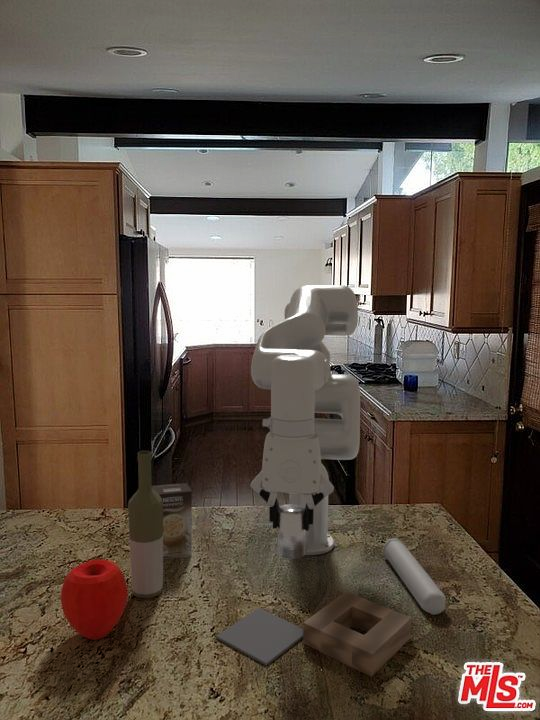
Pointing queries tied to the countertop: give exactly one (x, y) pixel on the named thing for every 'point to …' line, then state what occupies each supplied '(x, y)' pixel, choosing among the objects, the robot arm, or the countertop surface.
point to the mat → (261, 636)
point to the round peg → (291, 531)
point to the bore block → (352, 647)
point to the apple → (94, 597)
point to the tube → (414, 577)
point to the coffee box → (176, 519)
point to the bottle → (146, 533)
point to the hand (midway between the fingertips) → (291, 525)
